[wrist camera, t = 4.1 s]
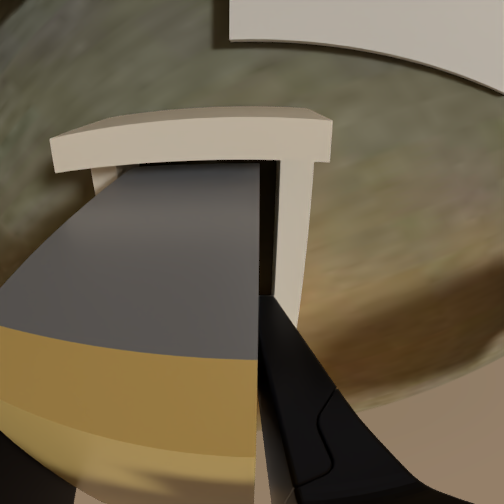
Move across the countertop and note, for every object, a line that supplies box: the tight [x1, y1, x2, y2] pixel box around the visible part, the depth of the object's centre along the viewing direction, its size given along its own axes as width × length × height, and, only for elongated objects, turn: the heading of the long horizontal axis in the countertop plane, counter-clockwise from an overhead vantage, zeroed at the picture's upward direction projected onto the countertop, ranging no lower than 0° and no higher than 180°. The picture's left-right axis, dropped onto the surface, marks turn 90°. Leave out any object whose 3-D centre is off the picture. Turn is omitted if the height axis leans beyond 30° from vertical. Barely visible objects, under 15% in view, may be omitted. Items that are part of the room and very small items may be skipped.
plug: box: [0, 163, 260, 504], centre depth 7 cm, size 4×6×8 cm, turn 0°
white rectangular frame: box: [50, 106, 333, 329], centre depth 10 cm, size 7×9×4 cm
